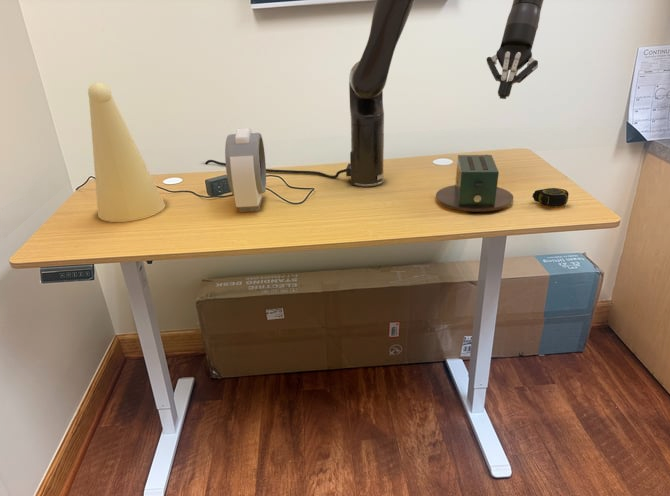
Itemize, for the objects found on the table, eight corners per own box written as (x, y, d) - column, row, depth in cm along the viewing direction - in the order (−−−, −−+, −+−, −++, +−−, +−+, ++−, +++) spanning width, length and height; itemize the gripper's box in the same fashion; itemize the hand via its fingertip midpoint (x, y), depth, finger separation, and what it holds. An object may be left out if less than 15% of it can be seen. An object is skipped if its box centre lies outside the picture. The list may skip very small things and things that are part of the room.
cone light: (100, 203, 154) (67, 75, 137) (164, 195, 158) (139, 68, 140) (92, 235, 133) (51, 88, 116) (166, 224, 137) (136, 79, 119)
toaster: (434, 186, 147) (436, 152, 142) (507, 186, 143) (512, 152, 139) (436, 211, 131) (438, 174, 126) (518, 212, 127) (524, 174, 122)
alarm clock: (263, 215, 138) (255, 137, 128) (231, 217, 138) (220, 139, 128) (269, 193, 153) (262, 121, 143) (240, 194, 154) (231, 123, 144)
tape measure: (555, 199, 135) (558, 185, 133) (572, 208, 129) (575, 193, 127) (531, 202, 134) (533, 188, 133) (546, 211, 128) (549, 196, 127)
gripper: (492, 19, 131) (474, 90, 133) (549, 22, 126) (530, 95, 128) (494, 33, 138) (477, 100, 140) (548, 36, 133) (530, 105, 135)
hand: (502, 97), depth 134 cm, fingers closed
